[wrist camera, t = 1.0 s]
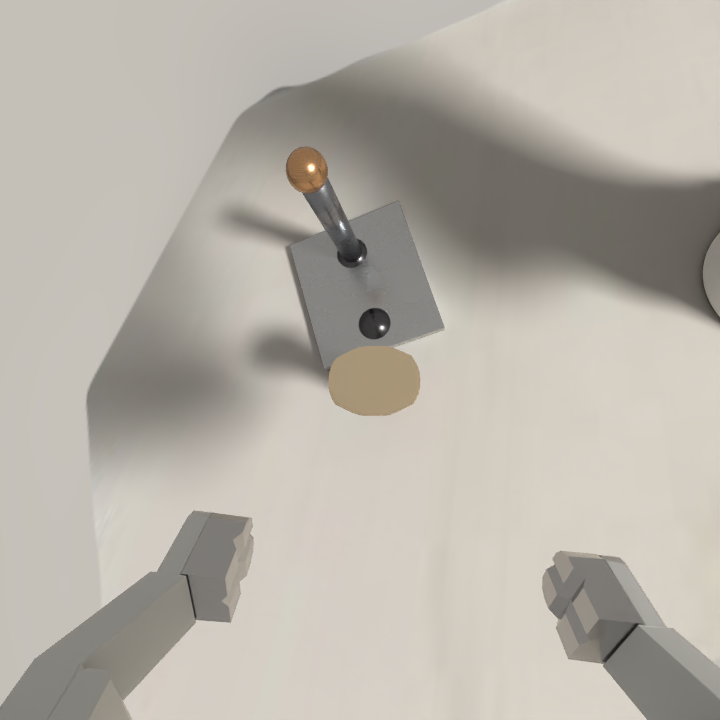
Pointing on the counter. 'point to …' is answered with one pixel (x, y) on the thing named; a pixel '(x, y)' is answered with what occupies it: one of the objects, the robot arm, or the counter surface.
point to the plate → (366, 287)
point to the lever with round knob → (322, 199)
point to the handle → (374, 380)
